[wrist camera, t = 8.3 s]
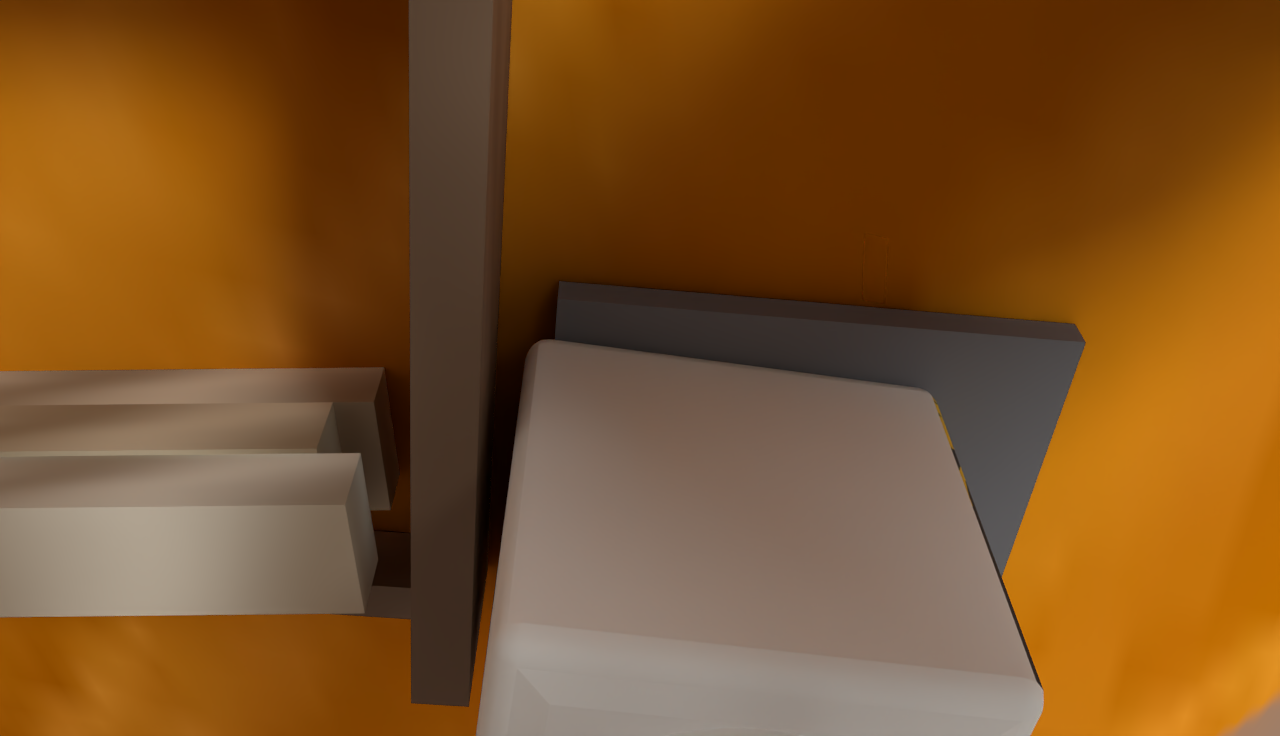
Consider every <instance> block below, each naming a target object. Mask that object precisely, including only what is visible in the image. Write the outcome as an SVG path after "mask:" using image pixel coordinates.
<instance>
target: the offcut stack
mask: <svg viewBox="0 0 1280 736" xmlns="http://www.w3.org/2000/svg"><path fill="white" fill-rule="evenodd" d="M399 475H400V471H399V464H398V457H397V451H396V444H395V437H394V430H393V423H392V417H391V410H390V403H389V396H388V389H387V382H386V376H385V369H384V367H367V368H272V369H177V370H82V371H0V617H65V616H161V615H257V614H353V613H365V610H366V606H367V602H368V598H369V594H370V590H371V586H372V582H373V578H374V574H375V570H376V566H377V562H378V554H377V548H376V542H375V536H374V530H373V524H372V518H371V512H370V510H391V507H392V503H393V499H394V495H395V491H396V487H397V483H398V479H399Z"/></svg>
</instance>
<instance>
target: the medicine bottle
mask: <svg viewBox="0 0 1280 736" xmlns="http://www.w3.org/2000/svg"><path fill="white" fill-rule="evenodd" d="M1043 703H1044V701H1043V688H1042V685H1041V683H1040V680H1039V677H1038V675H1037V672H1036V669H1035V666H1034V664H1033V661H1032V658H1031V656H1030V653H1029V650H1028V648H1027V645H1026V642H1025V639H1024V637H1023V634H1022V631H1021V629H1020V626H1019V623H1018V621H1017V618H1016V615H1015V612H1014V610H1013V607H1012V604H1011V602H1010V599H1009V596H1008V594H1007V591H1006V588H1005V585H1004V583H1003V580H1002V577H1001V575H1000V572H999V569H998V566H997V564H996V561H995V558H994V556H993V553H992V550H991V548H990V545H989V542H988V539H987V537H986V534H985V531H984V529H983V526H982V523H981V521H980V518H979V515H978V512H977V510H976V507H975V504H974V502H973V499H972V496H971V494H970V491H969V488H968V485H967V483H966V480H965V477H964V475H963V472H962V469H961V467H960V464H959V461H958V458H957V456H956V453H955V450H954V448H953V445H952V442H951V439H950V437H949V434H948V431H947V429H946V426H945V423H944V421H943V418H942V415H941V412H940V410H939V407H938V404H937V402H936V401H935V399H934V398H933V397H932V395H931V394H930V393H929V392H928V391H926V390H923V389H920V388H916V387H908V386H901V385H893V384H886V383H878V382H870V381H863V380H855V379H848V378H840V377H833V376H825V375H817V374H810V373H802V372H795V371H787V370H780V369H772V368H765V367H757V366H749V365H742V364H734V363H727V362H719V361H712V360H704V359H696V358H689V357H681V356H674V355H666V354H659V353H651V352H643V351H636V350H628V349H621V348H613V347H606V346H598V345H590V344H583V343H575V342H568V341H560V340H553V339H547V340H540V341H538V342H537V343H535V344H534V345H532V347H531V348H530V350H529V352H528V354H527V356H526V358H525V365H524V372H523V380H522V388H521V395H520V403H519V410H518V418H517V425H516V433H515V440H514V448H513V456H512V463H511V471H510V478H509V486H508V493H507V501H506V508H505V516H504V524H503V531H502V539H501V546H500V554H499V561H498V569H497V576H496V584H495V592H494V599H493V607H492V614H491V622H490V629H489V637H488V645H487V653H486V660H485V668H484V676H483V684H482V692H481V699H480V707H479V715H478V723H477V731H476V736H1030V735H1031V733H1032V731H1033V729H1034V727H1035V725H1036V723H1037V721H1038V719H1039V717H1040V715H1041V713H1042V711H1043Z"/></svg>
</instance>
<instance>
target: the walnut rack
mask: <svg viewBox="0 0 1280 736" xmlns="http://www.w3.org/2000/svg"><path fill="white" fill-rule="evenodd" d="M511 18H512V0H409V200H410V483H411V533H399V532H384V531H374V536H375V542H376V548H377V554H378V562H377V566H376V570H375V574H374V578H373V582H372V586H371V590H370V594H369V598H368V602H367V606H366V610H365V613H353V614H339V615H354V616H370V617H385V618H400V619H411V703H417V704H433V705H450V706H466V707H469V701H470V693H471V686H472V679H473V672H474V664H475V657H476V650H477V642H478V635H479V628H480V621H481V613H482V606H483V599H484V592H485V584H486V577H487V570H488V548H489V525H490V502H491V479H492V456H493V433H494V410H495V387H496V364H497V341H498V318H499V295H500V271H501V248H502V225H503V202H504V179H505V156H506V133H507V110H508V87H509V64H510V41H511Z"/></svg>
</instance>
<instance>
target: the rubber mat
mask: <svg viewBox="0 0 1280 736" xmlns="http://www.w3.org/2000/svg"><path fill="white" fill-rule="evenodd" d="M555 340H560V341H568V342H575V343H583V344H590V345H598V346H606V347H613V348H621V349H628V350H636V351H643V352H651V353H659V354H666V355H674V356H681V357H689V358H696V359H704V360H712V361H719V362H727V363H734V364H742V365H749V366H757V367H765V368H772V369H780V370H787V371H795V372H802V373H810V374H817V375H825V376H833V377H840V378H848V379H855V380H863V381H870V382H878V383H886V384H893V385H901V386H908V387H916V388H920V389H923V390H926V391H928V392H929V393H930V394H931V395H932V397H933V398H934V399H935V401H936V402H937V404H938V407H939V410H940V412H941V415H942V418H943V421H944V423H945V426H946V429H947V431H948V434H949V437H950V439H951V442H952V445H953V448H954V450H955V453H956V456H957V458H958V461H959V464H960V467H961V469H962V472H963V475H964V477H965V480H966V483H967V485H968V488H969V491H970V494H971V496H972V499H973V502H974V504H975V507H976V510H977V512H978V515H979V518H980V521H981V523H982V526H983V529H984V531H985V534H986V537H987V539H988V542H989V545H990V548H991V550H992V553H993V556H994V558H995V561H996V564H997V566H998V569H999V572H1000V575H1001V577H1002V574H1003V572H1004V569H1005V566H1006V563H1007V560H1008V558H1009V555H1010V552H1011V549H1012V546H1013V544H1014V541H1015V538H1016V535H1017V533H1018V530H1019V527H1020V524H1021V521H1022V519H1023V516H1024V513H1025V510H1026V507H1027V505H1028V502H1029V499H1030V496H1031V493H1032V491H1033V488H1034V485H1035V482H1036V480H1037V477H1038V474H1039V471H1040V468H1041V466H1042V463H1043V460H1044V457H1045V454H1046V452H1047V449H1048V446H1049V443H1050V441H1051V438H1052V435H1053V432H1054V429H1055V427H1056V424H1057V421H1058V418H1059V415H1060V413H1061V410H1062V407H1063V404H1064V402H1065V399H1066V396H1067V393H1068V390H1069V388H1070V385H1071V382H1072V379H1073V376H1074V374H1075V371H1076V368H1077V365H1078V362H1079V360H1080V357H1081V354H1082V351H1083V349H1084V346H1085V343H1086V342H1085V340H1084V339H1083V337H1082V335H1081V334H1080V332H1079V330H1078V329H1077V327H1076V325H1075V324H1068V323H1056V322H1044V321H1032V320H1020V319H1008V318H996V317H984V316H972V315H960V314H948V313H936V312H924V311H912V310H900V309H888V308H876V307H864V306H852V305H840V304H828V303H816V302H804V301H792V300H780V299H768V298H756V297H744V296H732V295H720V294H708V293H696V292H684V291H672V290H660V289H648V288H636V287H624V286H612V285H600V284H588V283H576V282H564V281H559V290H558V302H557V315H556V329H555Z"/></svg>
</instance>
